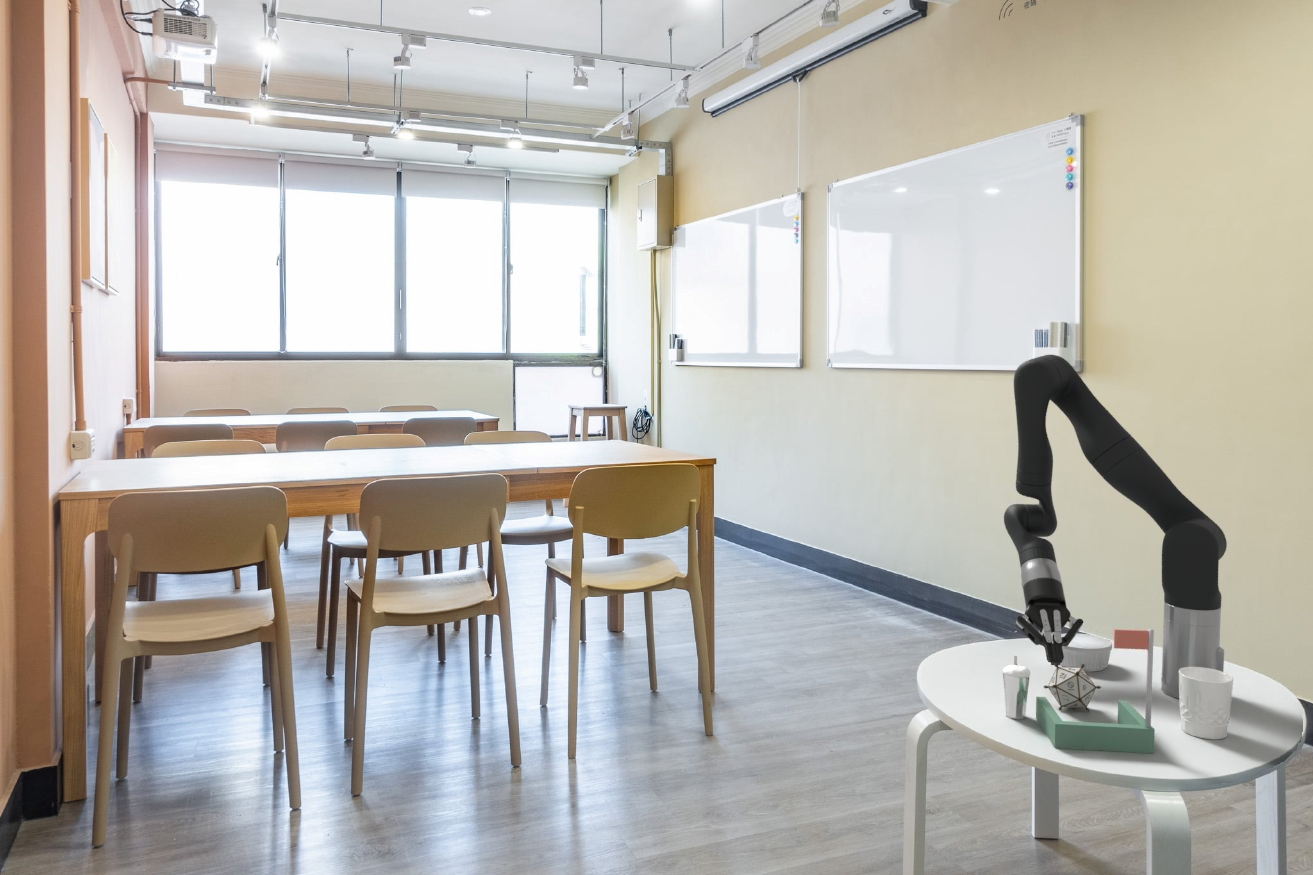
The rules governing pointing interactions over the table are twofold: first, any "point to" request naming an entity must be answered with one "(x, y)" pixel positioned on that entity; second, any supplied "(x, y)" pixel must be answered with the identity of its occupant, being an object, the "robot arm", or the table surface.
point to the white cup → (1205, 702)
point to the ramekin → (1087, 652)
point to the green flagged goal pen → (1105, 736)
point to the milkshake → (1016, 689)
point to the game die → (1072, 687)
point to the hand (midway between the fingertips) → (1056, 663)
